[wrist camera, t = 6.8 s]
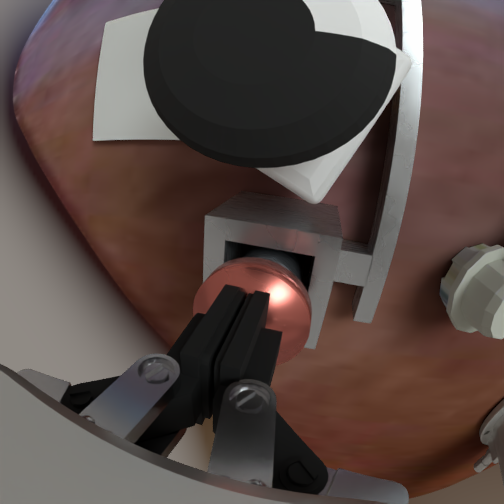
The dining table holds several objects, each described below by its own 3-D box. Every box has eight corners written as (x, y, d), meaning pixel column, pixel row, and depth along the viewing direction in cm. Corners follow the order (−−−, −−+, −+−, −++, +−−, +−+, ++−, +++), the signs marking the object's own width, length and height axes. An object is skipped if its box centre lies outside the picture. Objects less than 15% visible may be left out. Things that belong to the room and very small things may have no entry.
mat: (215, 141, 17) (211, 141, 17) (97, 140, 19) (92, 140, 19) (230, 2, 13) (227, -2, 13) (110, 24, 15) (105, 22, 15)
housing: (367, 306, 19) (377, 365, 14) (234, 281, 21) (202, 331, 15) (408, -36, 9) (428, -80, 4) (267, -54, 11) (244, -102, 5)
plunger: (311, 287, 19) (297, 376, 11) (242, 273, 19) (194, 351, 12) (324, 218, 17) (322, 282, 10) (248, 206, 18) (192, 257, 10)
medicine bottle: (319, 182, 17) (308, 265, 6) (220, 121, 17) (72, 114, 6) (382, 88, 14) (475, 14, 3) (279, 29, 14) (205, -94, 3)
